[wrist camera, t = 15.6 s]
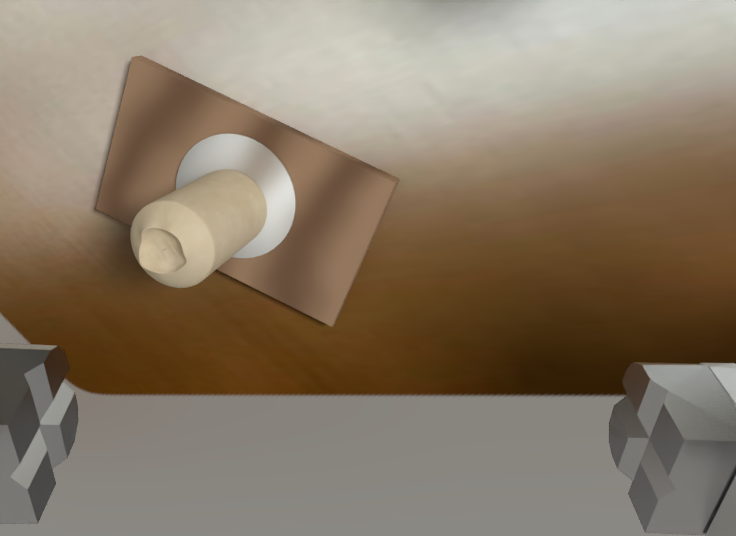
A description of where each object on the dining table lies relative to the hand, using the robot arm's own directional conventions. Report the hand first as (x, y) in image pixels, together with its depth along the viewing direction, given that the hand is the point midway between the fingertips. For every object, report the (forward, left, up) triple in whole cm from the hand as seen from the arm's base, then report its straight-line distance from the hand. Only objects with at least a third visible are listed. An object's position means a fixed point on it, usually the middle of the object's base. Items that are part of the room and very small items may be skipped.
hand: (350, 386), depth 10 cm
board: (+14, +14, -36) cm, 41 cm away
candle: (+14, +15, -35) cm, 40 cm away
